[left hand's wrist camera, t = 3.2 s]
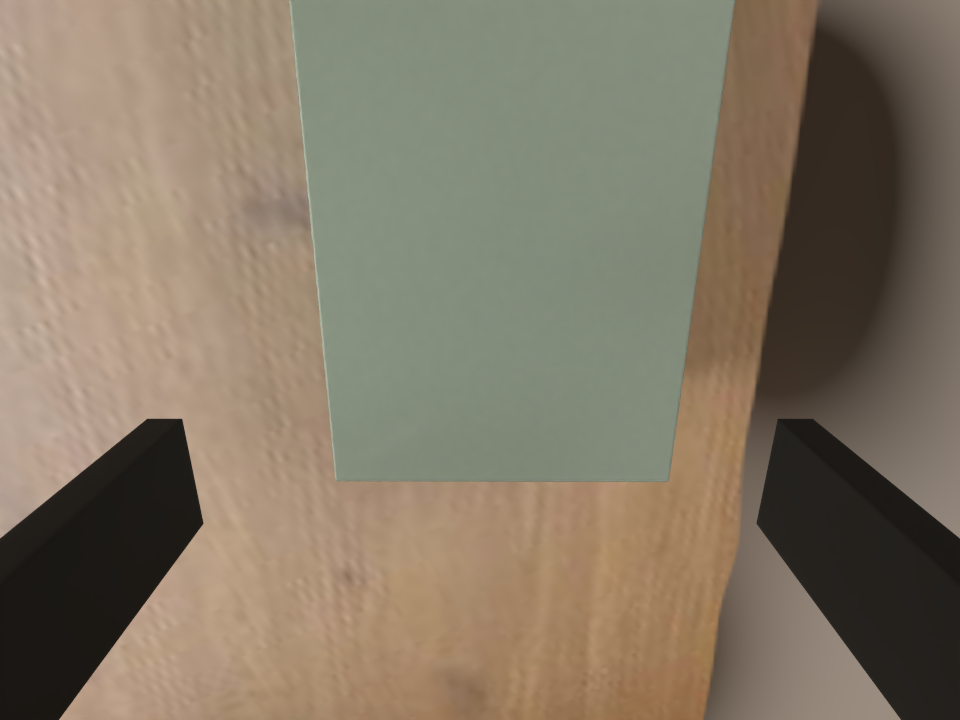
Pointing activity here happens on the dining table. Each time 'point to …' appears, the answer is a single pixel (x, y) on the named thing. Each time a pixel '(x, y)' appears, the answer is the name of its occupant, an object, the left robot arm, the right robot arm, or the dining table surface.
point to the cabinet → (507, 229)
